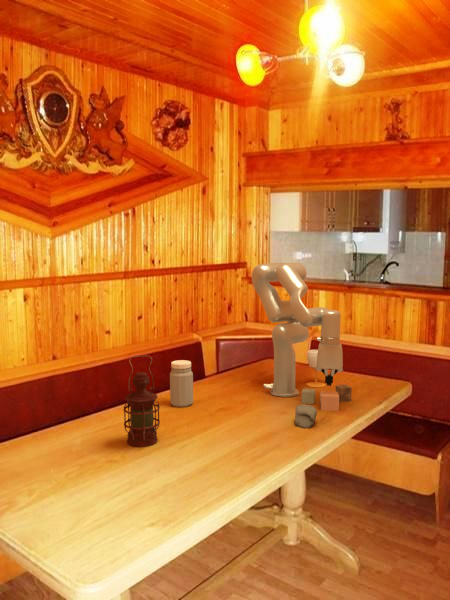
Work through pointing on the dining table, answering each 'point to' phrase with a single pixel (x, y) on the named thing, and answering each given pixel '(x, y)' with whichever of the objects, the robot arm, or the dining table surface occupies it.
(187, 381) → the jar
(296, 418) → the stone
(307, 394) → the greygreen block
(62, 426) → the dining table surface
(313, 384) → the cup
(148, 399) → the lantern
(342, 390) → the walnut block
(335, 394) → the terracotta block
